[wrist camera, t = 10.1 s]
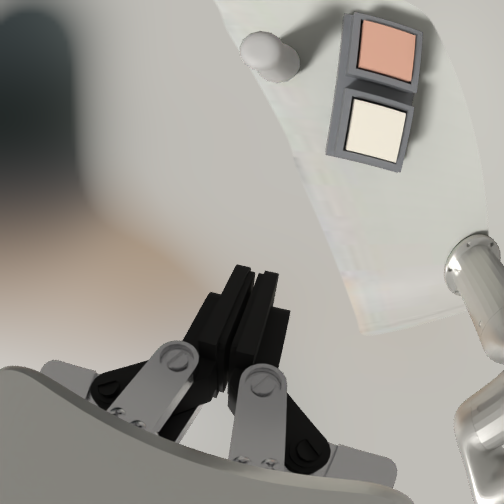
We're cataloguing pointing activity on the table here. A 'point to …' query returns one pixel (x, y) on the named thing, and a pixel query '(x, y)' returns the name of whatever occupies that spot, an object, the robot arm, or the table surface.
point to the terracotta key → (386, 51)
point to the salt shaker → (269, 57)
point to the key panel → (369, 91)
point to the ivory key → (374, 130)
